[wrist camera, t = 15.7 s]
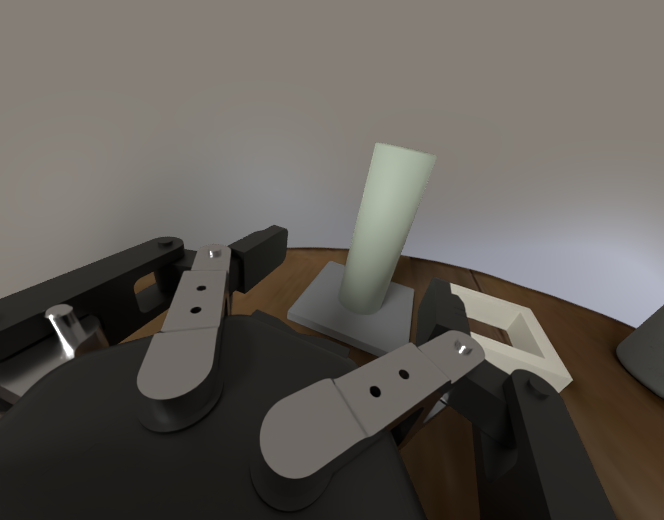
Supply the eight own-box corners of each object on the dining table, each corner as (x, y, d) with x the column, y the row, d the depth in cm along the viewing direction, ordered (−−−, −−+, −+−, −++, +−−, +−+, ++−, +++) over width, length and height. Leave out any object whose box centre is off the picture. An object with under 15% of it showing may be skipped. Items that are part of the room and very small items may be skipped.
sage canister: (384, 295, 29) (436, 154, 21) (376, 321, 25) (438, 158, 17) (345, 281, 30) (381, 142, 22) (332, 304, 26) (370, 142, 18)
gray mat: (411, 295, 32) (414, 289, 31) (403, 367, 22) (407, 359, 21) (328, 266, 34) (329, 260, 34) (287, 318, 24) (287, 311, 24)
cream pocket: (516, 326, 30) (530, 308, 28) (550, 400, 21) (573, 380, 20) (434, 298, 32) (443, 280, 30) (436, 355, 23) (448, 334, 22)
